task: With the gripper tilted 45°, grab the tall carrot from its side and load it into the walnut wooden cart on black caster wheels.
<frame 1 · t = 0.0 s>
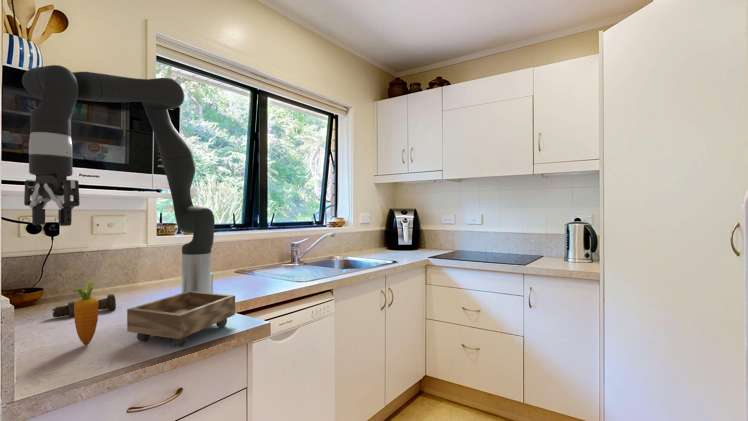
hand: (51, 225, 85), 29 cm above the worktop, tool pointing down, fingers open, 8 cm apart
caster cart: (185, 317, 98), point 4 cm above the worktop, slide at 0.0 cm
carrot: (86, 346, 89), on the worktop
bolt: (85, 315, 114), on the worktop
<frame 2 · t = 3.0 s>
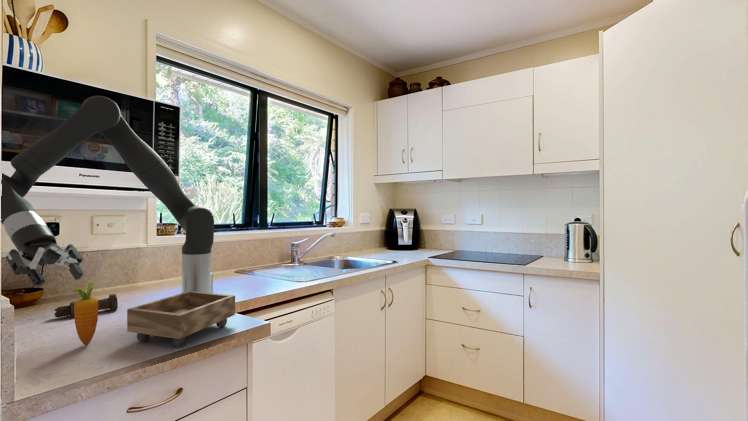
hand: (61, 280, 91), 15 cm above the worktop, tool tilted 45°, fingers open, 8 cm apart
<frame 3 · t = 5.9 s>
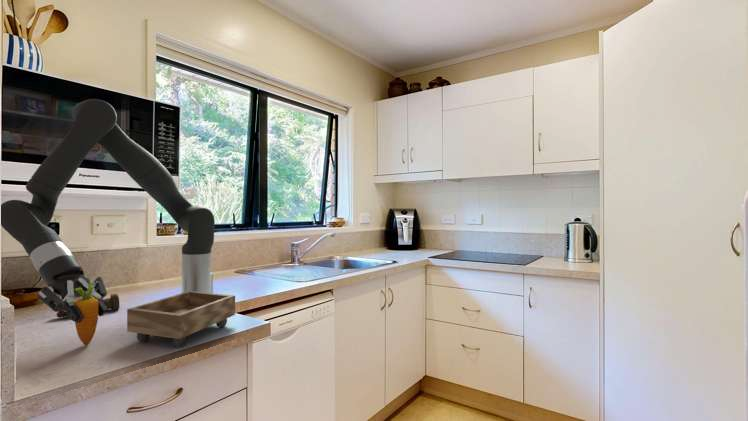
hand: (92, 316, 88), 7 cm above the worktop, tool tilted 45°, fingers closed on carrot, 5 cm apart
carrot: (86, 346, 89), on the worktop, touching gripper
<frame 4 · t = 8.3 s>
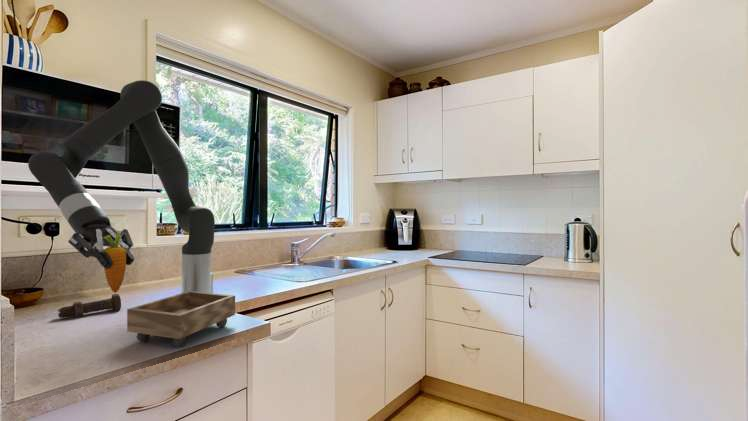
hand: (120, 264, 91), 19 cm above the worktop, tool tilted 45°, fingers closed on carrot, 5 cm apart
carrot: (115, 293, 92), point 12 cm above the worktop, touching gripper
when the fingers open (13 cm above the worktop, at t = 10.9 s): carrot drops 2 cm, resting on caster cart.
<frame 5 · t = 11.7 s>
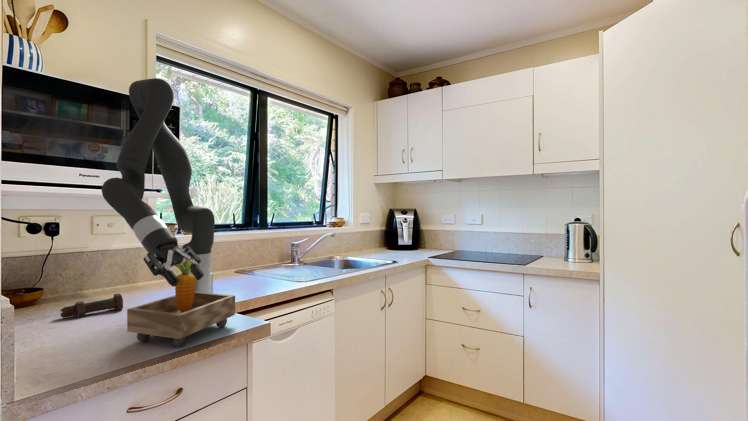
hand: (189, 281, 97), 14 cm above the worktop, tool tilted 45°, fingers open, 8 cm apart
caster cart: (185, 317, 98), point 4 cm above the worktop, slide at 0.0 cm, touching carrot
carrot: (184, 317, 98), point 4 cm above the worktop, touching caster cart
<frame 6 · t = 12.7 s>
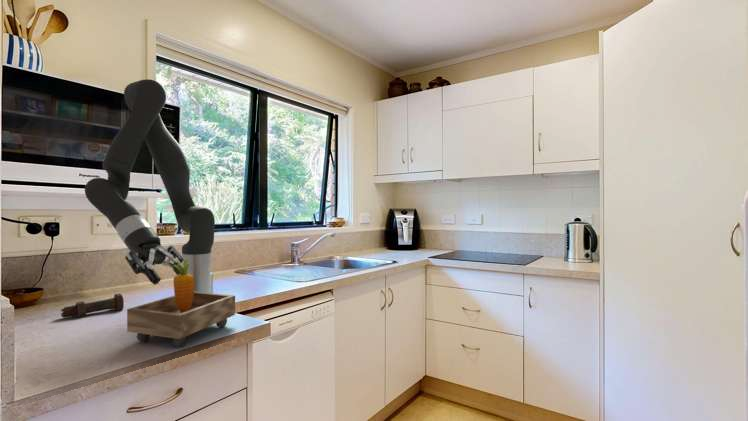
hand: (171, 279, 99), 14 cm above the worktop, tool tilted 45°, fingers open, 8 cm apart
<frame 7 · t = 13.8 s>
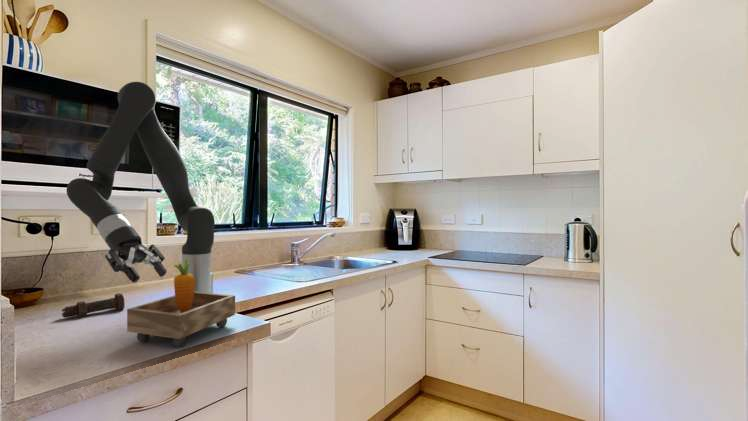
hand: (151, 277, 101), 14 cm above the worktop, tool tilted 45°, fingers open, 8 cm apart
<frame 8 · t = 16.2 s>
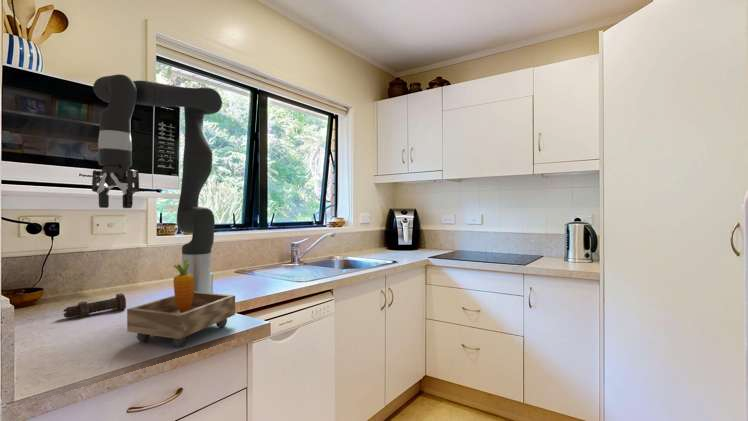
hand: (115, 207, 102), 33 cm above the worktop, tool pointing down, fingers open, 8 cm apart
at the end: carrot inside the target area on the caster cart (0.1 cm from its centre), point 4.3 cm above the caster cart's base; the gripper is holding nothing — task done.
